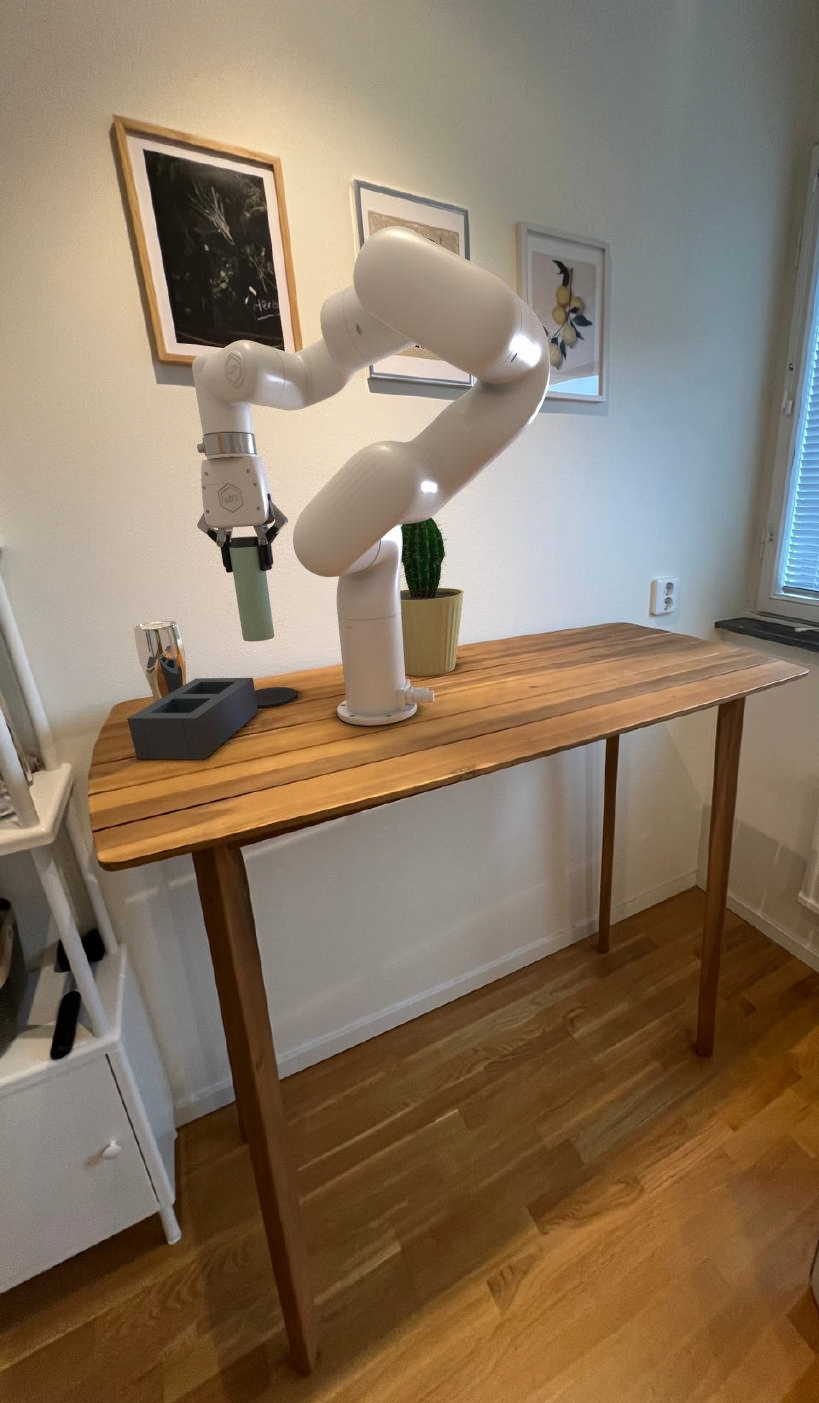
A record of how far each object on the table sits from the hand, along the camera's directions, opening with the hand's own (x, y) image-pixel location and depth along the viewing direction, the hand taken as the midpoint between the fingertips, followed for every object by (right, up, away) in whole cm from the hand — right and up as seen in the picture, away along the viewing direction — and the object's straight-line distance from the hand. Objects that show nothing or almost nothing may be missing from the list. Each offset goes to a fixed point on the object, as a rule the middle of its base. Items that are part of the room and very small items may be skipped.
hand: (249, 569), depth 89 cm
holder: (-5, -26, -7) cm, 28 cm away
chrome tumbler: (-14, -24, +3) cm, 27 cm away
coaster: (+1, -21, +7) cm, 22 cm away
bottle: (+1, -11, +4) cm, 11 cm away
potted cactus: (+30, -15, +20) cm, 39 cm away
